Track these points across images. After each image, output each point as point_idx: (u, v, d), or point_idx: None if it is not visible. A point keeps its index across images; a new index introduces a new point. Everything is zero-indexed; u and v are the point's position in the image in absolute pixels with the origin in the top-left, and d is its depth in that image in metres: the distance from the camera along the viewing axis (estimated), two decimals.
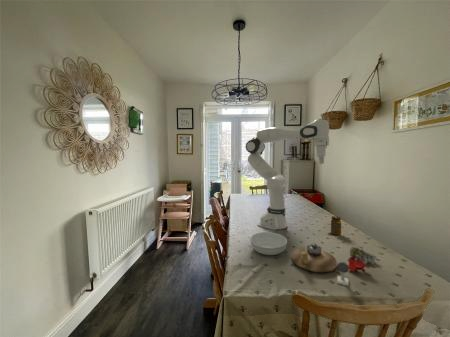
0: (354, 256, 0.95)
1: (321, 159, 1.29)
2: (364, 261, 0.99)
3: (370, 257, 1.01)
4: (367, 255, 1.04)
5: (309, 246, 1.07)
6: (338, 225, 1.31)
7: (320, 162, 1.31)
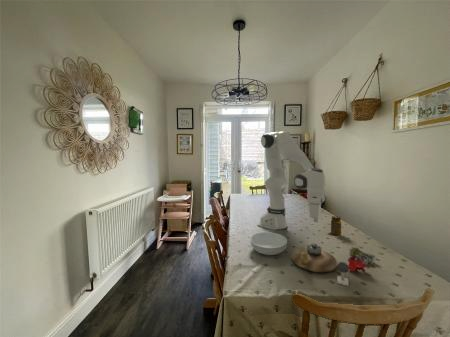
0: (354, 256, 0.95)
1: None
2: (365, 262, 0.99)
3: (369, 257, 1.02)
4: (365, 255, 1.05)
5: (309, 246, 1.07)
6: (338, 225, 1.31)
7: (314, 220, 1.11)
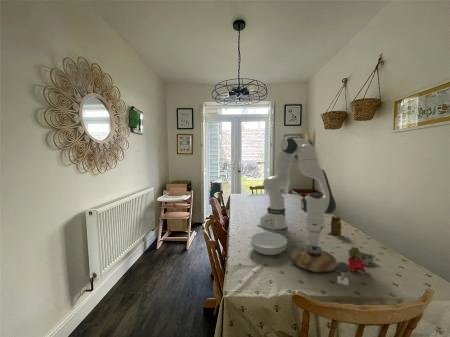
0: (354, 256, 0.95)
1: None
2: (366, 262, 0.98)
3: (368, 257, 1.02)
4: None
5: (309, 246, 1.07)
6: (338, 225, 1.31)
7: None
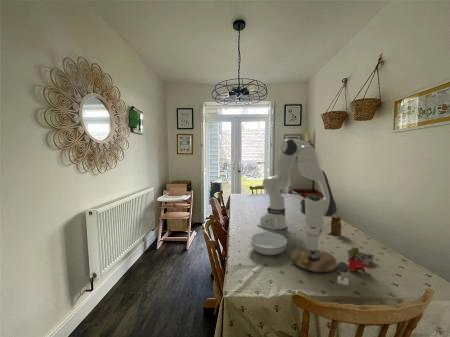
0: (354, 256, 0.94)
1: None
2: (366, 262, 0.98)
3: (367, 256, 1.02)
4: None
5: (307, 250, 1.03)
6: (338, 225, 1.31)
7: None
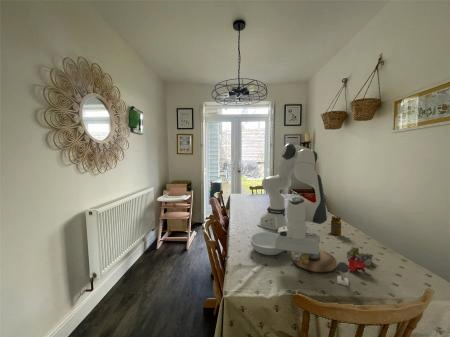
0: (354, 256, 0.94)
1: None
2: (369, 263, 0.97)
3: (366, 256, 1.02)
4: None
5: None
6: (338, 225, 1.31)
7: None
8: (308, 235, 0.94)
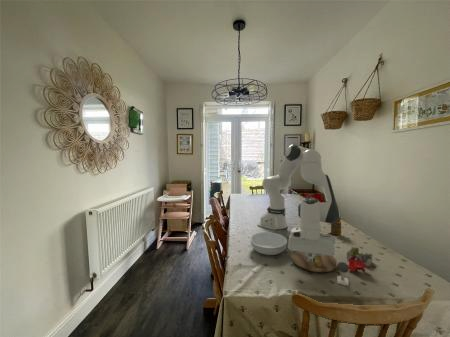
0: (354, 256, 0.94)
1: (305, 254, 0.95)
2: (369, 263, 0.97)
3: (365, 256, 1.02)
4: None
5: None
6: (338, 225, 1.31)
7: None
8: (322, 236, 0.91)
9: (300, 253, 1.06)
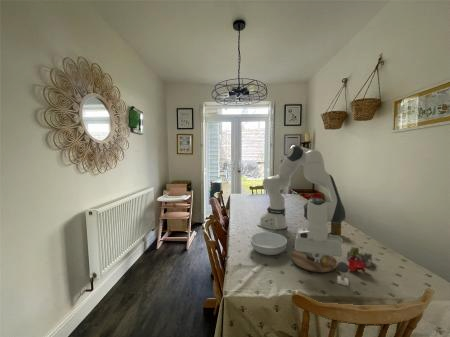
0: (354, 256, 0.94)
1: None
2: (370, 263, 0.97)
3: (365, 256, 1.02)
4: None
5: (310, 253, 1.00)
6: (338, 225, 1.31)
7: None
8: (330, 236, 0.91)
9: (299, 255, 1.04)
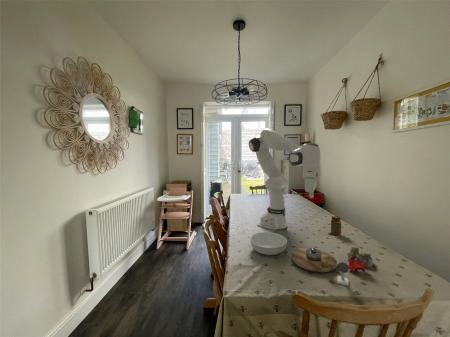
0: (354, 256, 0.94)
1: (311, 192, 1.08)
2: (372, 263, 0.97)
3: (364, 257, 1.02)
4: None
5: (310, 253, 1.00)
6: (338, 225, 1.31)
7: (310, 196, 1.09)
8: None
9: (299, 255, 1.04)
